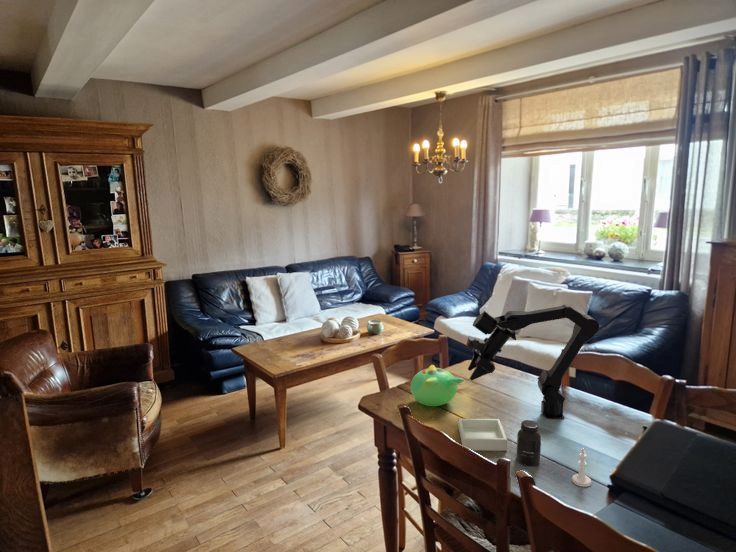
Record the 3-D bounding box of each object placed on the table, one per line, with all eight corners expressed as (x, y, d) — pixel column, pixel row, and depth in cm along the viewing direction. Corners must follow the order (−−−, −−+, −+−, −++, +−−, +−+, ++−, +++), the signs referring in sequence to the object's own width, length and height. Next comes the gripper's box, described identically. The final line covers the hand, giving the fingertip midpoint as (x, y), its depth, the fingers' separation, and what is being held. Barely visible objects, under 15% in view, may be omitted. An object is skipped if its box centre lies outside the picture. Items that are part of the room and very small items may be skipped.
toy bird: (444, 391, 191) (444, 357, 188) (466, 408, 175) (466, 371, 173) (404, 399, 185) (403, 364, 182) (423, 417, 169) (423, 379, 167)
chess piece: (585, 475, 132) (587, 443, 130) (594, 486, 127) (596, 452, 125) (568, 476, 132) (570, 444, 130) (577, 487, 127) (578, 453, 125)
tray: (498, 429, 159) (499, 418, 159) (507, 450, 146) (507, 439, 145) (458, 428, 160) (458, 418, 160) (463, 450, 147) (463, 439, 146)
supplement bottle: (524, 468, 136) (525, 430, 134) (511, 456, 143) (512, 420, 141) (545, 464, 138) (546, 427, 136) (531, 452, 144) (532, 416, 142)
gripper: (475, 321, 176) (450, 353, 179) (479, 336, 157) (452, 371, 161) (499, 338, 176) (474, 369, 179) (507, 355, 157) (479, 390, 161)
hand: (469, 374), depth 170 cm, fingers open, 9 cm apart
